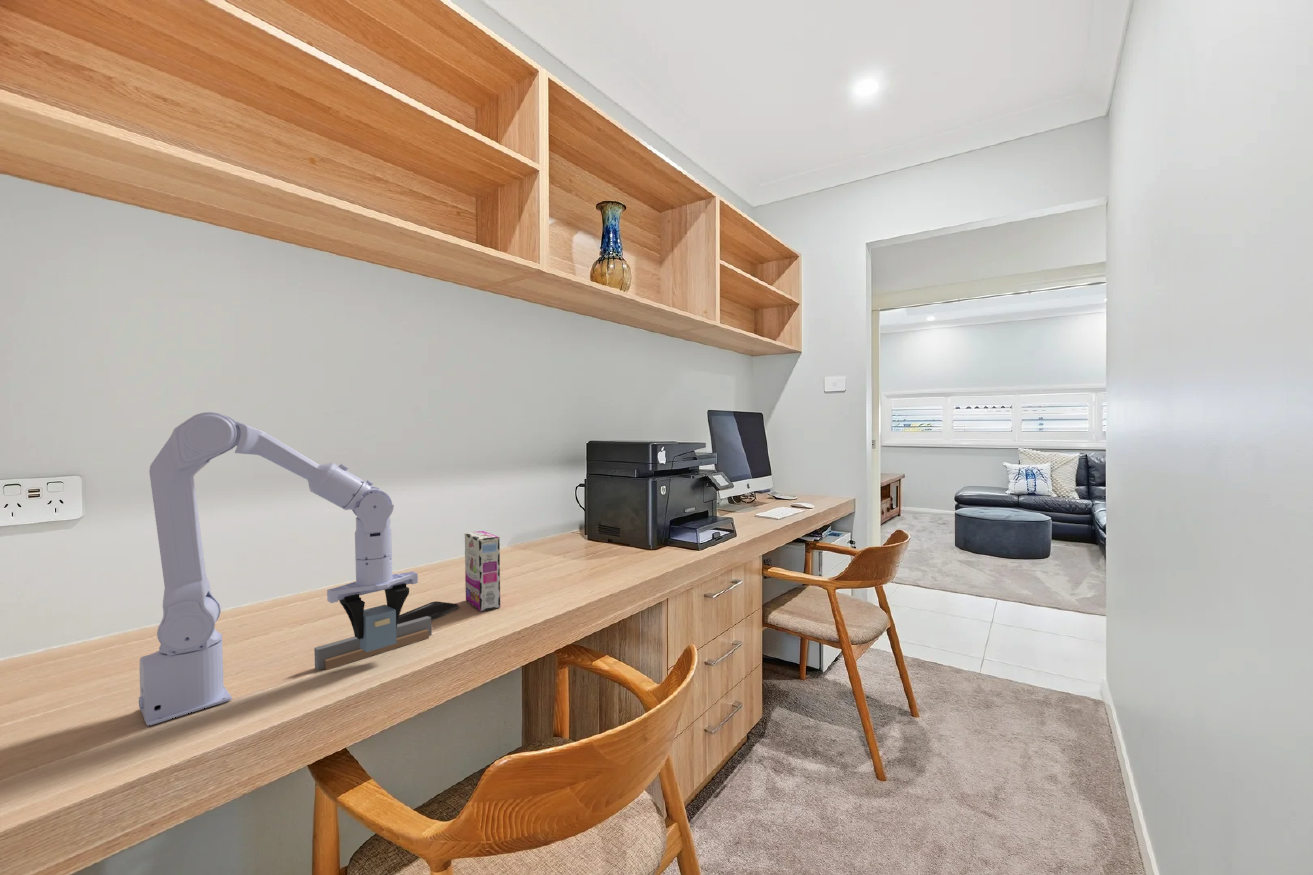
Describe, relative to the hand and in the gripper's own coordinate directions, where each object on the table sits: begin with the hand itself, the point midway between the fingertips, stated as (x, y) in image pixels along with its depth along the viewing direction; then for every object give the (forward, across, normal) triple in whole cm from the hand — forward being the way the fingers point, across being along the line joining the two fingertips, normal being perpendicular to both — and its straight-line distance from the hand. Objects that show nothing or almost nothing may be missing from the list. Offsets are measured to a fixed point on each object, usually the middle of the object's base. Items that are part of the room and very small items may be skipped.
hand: (376, 632), depth 95 cm
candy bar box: (+5, +29, +13) cm, 32 cm away
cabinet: (+2, 0, 0) cm, 2 cm away
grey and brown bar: (+5, +2, +5) cm, 7 cm away
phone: (+6, +16, +16) cm, 23 cm away
